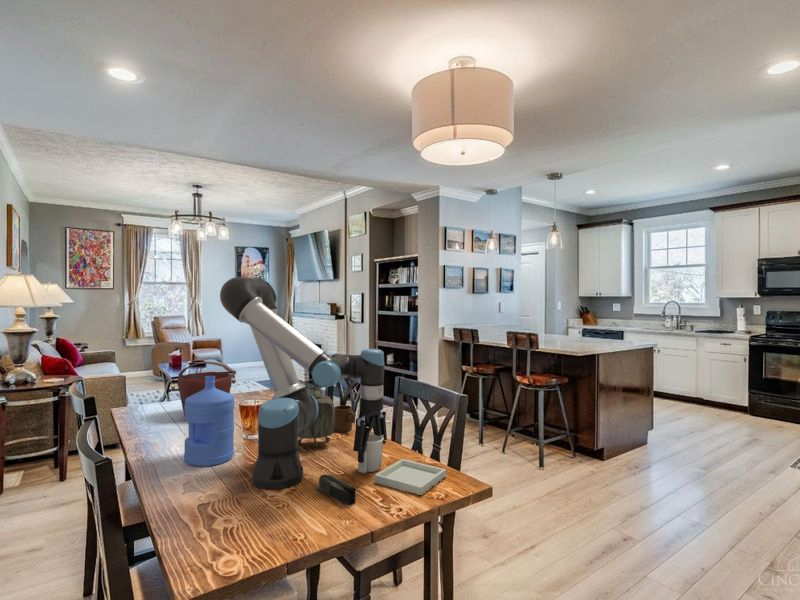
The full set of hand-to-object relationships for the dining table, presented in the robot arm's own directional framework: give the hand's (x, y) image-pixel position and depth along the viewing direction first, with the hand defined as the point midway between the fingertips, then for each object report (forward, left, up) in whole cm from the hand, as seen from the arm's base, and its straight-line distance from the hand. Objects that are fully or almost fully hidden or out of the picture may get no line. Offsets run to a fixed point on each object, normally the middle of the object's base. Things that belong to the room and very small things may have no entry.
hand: (370, 467), depth 145 cm
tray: (0, -15, -1) cm, 15 cm away
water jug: (-23, +51, -1) cm, 56 cm away
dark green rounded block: (-21, -3, -1) cm, 22 cm away
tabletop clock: (+7, +31, -1) cm, 32 cm away
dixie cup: (0, 0, -1) cm, 1 cm away
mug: (+27, +32, -1) cm, 42 cm away
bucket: (+8, +98, -1) cm, 98 cm away
